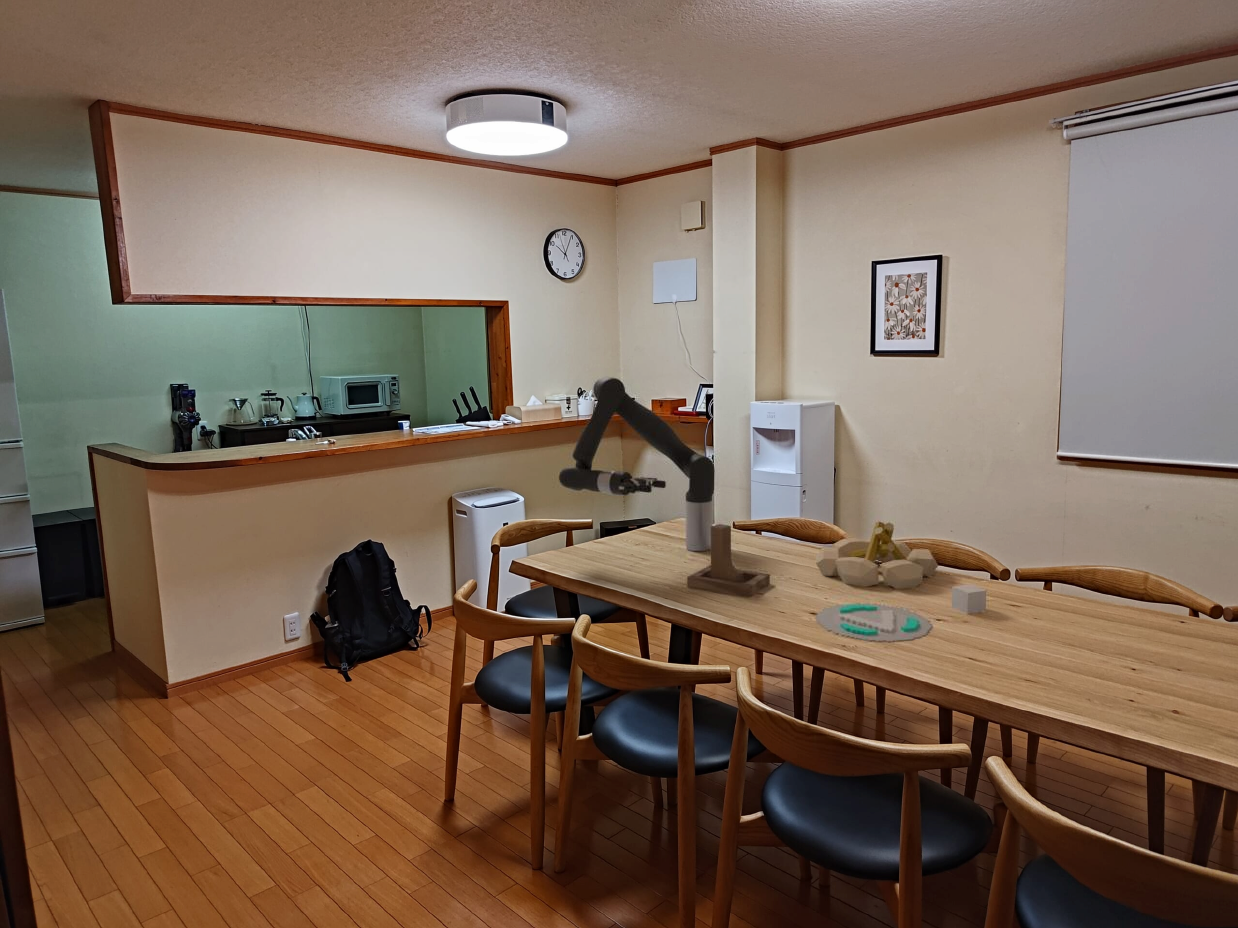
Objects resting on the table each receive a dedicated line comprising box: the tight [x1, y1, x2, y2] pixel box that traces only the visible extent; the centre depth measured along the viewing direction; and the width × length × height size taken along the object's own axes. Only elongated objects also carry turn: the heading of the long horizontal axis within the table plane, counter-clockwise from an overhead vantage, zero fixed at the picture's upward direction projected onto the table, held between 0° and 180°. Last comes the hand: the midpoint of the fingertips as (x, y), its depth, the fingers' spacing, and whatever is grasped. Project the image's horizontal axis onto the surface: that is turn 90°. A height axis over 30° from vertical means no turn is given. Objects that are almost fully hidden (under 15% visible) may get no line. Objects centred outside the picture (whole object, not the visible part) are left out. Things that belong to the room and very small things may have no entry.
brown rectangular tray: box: [686, 564, 771, 598], centre depth 245 cm, size 15×20×3 cm
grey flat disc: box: [814, 602, 934, 643], centre depth 211 cm, size 28×28×2 cm
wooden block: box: [710, 523, 744, 583], centre depth 243 cm, size 9×4×18 cm, turn 46°
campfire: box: [815, 521, 939, 590], centre depth 253 cm, size 35×34×17 cm
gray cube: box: [950, 583, 987, 615], centre depth 219 cm, size 6×6×6 cm
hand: (658, 486), depth 254 cm, fingers open, 8 cm apart
